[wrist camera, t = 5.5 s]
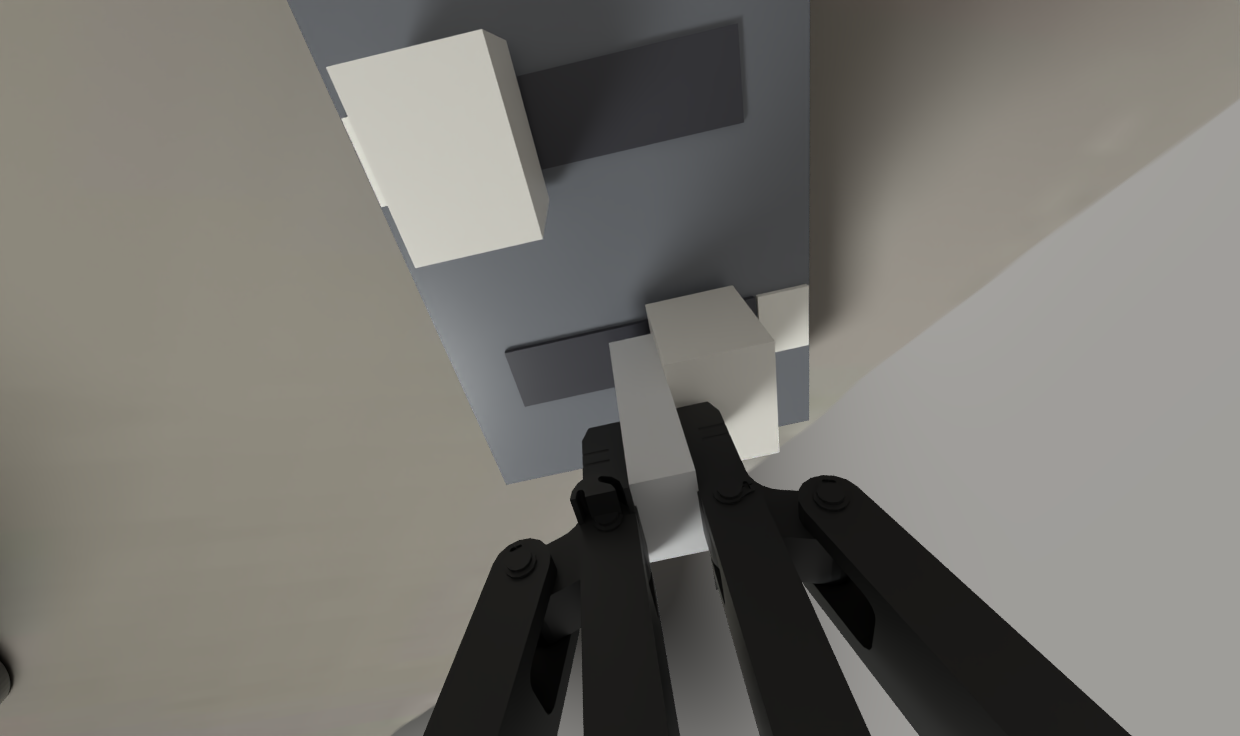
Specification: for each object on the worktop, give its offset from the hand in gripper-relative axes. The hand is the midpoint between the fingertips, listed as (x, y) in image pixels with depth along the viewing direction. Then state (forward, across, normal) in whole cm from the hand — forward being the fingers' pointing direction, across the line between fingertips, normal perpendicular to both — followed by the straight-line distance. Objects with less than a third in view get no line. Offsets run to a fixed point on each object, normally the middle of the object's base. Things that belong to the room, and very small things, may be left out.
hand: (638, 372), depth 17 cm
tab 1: (+1, -3, +8) cm, 9 cm away
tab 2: (+1, +2, 0) cm, 2 cm away
